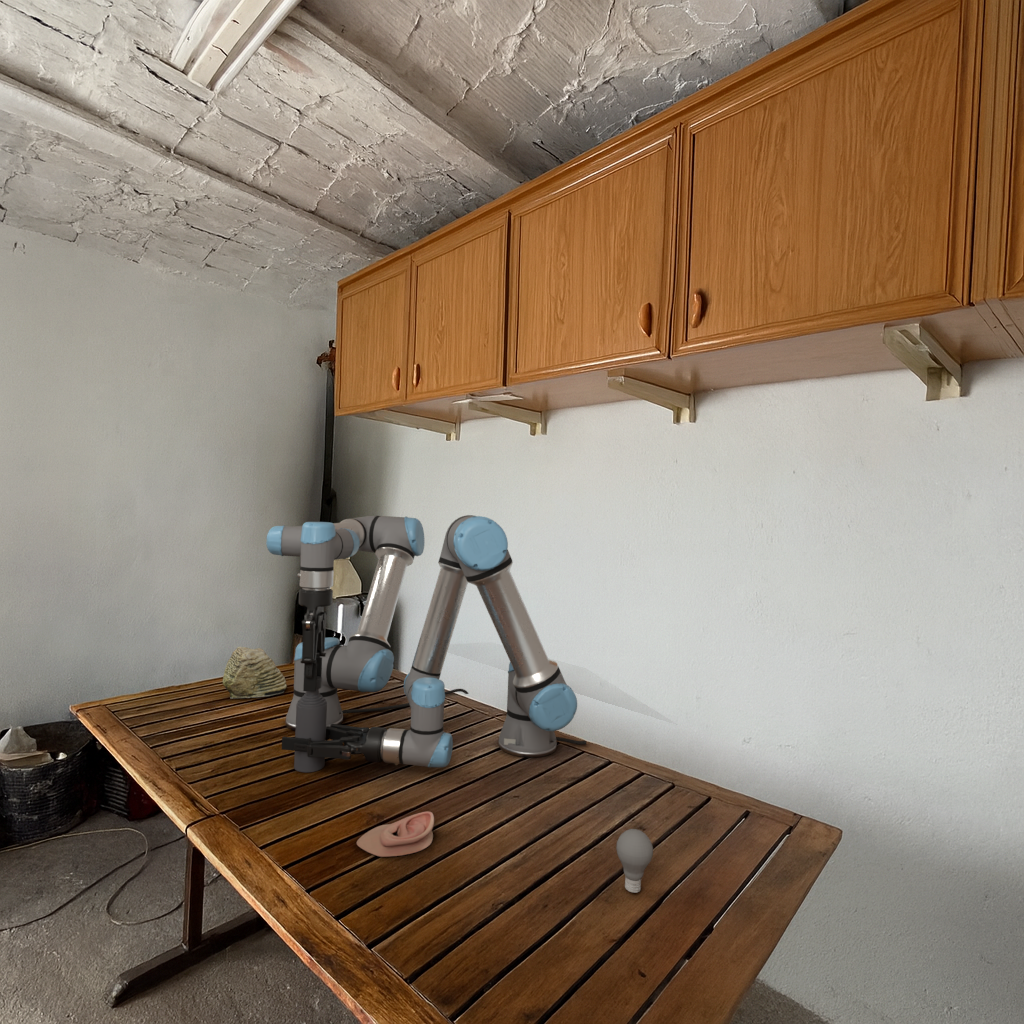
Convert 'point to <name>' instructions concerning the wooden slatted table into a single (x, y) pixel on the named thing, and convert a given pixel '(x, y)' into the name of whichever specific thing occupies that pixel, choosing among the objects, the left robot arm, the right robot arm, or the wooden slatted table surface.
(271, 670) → the fossil
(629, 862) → the light bulb
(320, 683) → the cap
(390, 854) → the anatomical model
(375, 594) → the left robot arm
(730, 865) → the wooden slatted table surface
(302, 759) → the bottle
